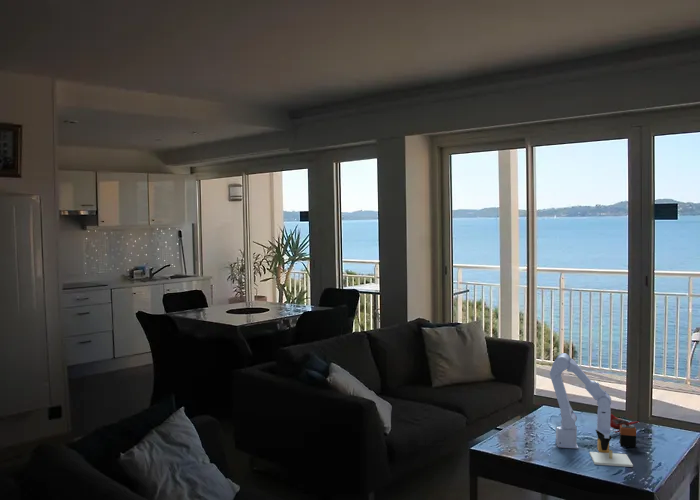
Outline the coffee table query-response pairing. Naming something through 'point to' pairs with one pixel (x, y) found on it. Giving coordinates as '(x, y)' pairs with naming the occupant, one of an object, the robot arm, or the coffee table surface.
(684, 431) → the coffee table surface
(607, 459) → the plate
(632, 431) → the battery
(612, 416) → the decorative bird figurine
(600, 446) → the tan cardboard-like box
